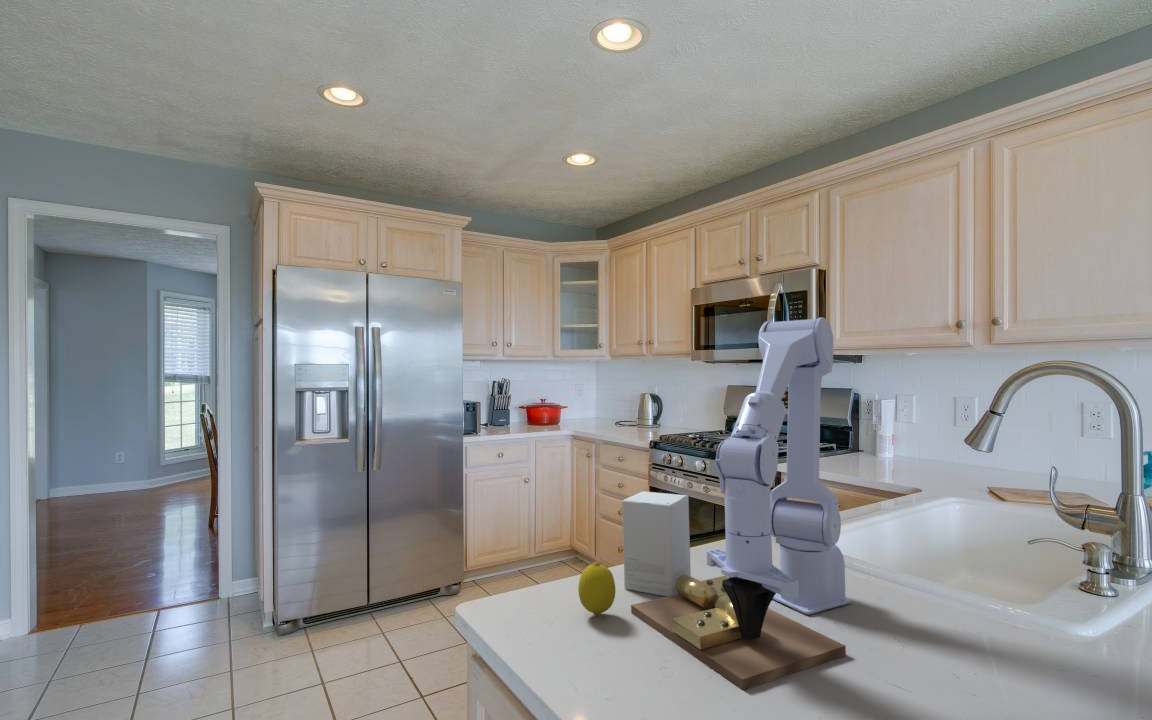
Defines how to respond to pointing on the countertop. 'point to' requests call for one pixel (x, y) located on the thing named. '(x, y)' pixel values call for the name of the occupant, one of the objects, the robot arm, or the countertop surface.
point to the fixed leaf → (701, 590)
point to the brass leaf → (709, 625)
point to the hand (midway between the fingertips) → (750, 637)
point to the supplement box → (655, 542)
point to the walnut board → (746, 644)
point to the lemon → (596, 588)
